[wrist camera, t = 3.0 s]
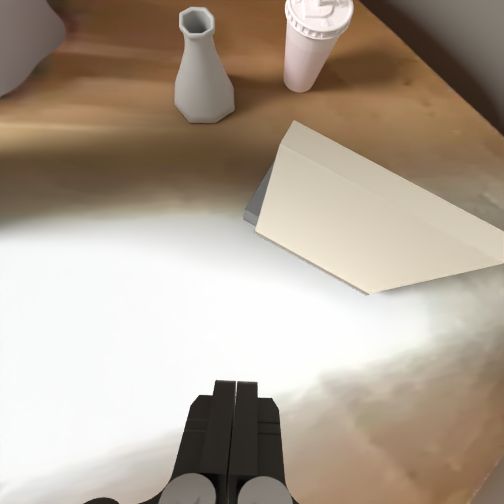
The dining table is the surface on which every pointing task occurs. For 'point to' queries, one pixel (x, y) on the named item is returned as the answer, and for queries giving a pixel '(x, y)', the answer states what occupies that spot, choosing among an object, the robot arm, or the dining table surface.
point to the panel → (366, 219)
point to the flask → (201, 71)
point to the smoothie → (312, 38)
